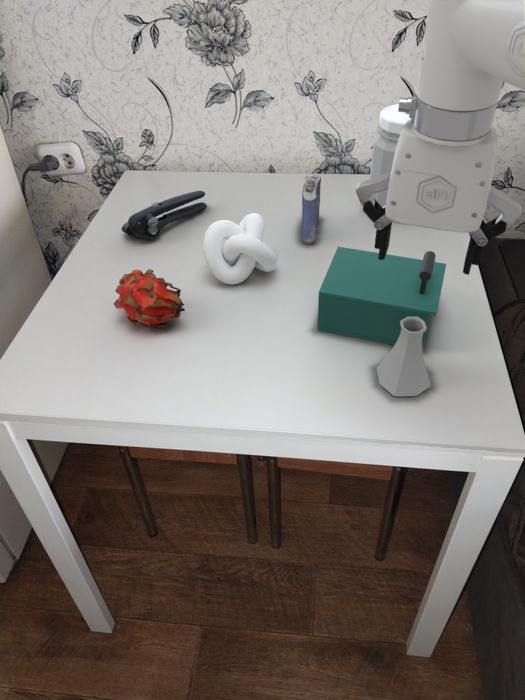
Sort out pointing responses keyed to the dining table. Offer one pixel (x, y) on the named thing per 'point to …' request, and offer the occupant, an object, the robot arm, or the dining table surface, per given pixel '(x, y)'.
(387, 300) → the lunchbox lid
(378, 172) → the jar
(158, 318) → the dragon fruit
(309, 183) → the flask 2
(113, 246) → the dining table surface
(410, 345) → the flask
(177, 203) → the can opener
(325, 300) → the box
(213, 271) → the white decorative knot
